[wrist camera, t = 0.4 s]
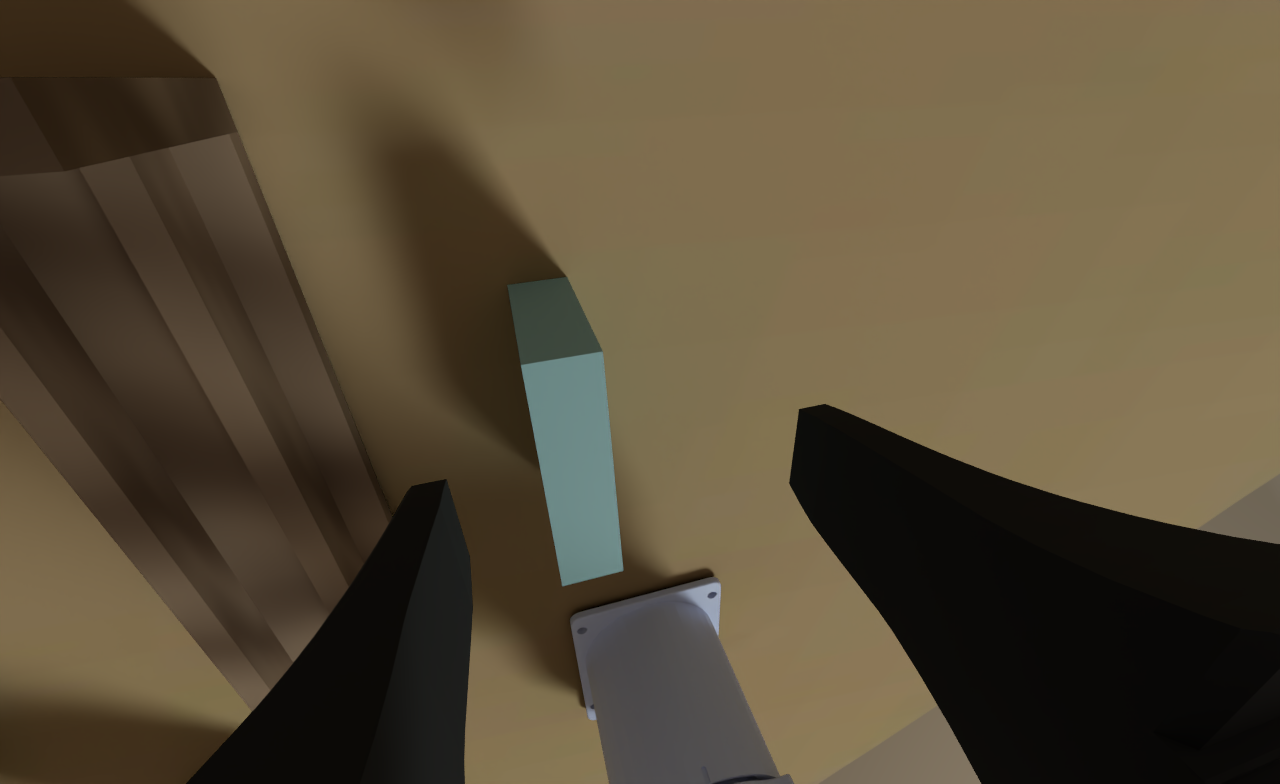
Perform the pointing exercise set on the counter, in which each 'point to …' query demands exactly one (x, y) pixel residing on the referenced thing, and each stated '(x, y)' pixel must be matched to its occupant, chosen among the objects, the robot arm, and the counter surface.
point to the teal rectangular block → (569, 426)
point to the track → (178, 362)
